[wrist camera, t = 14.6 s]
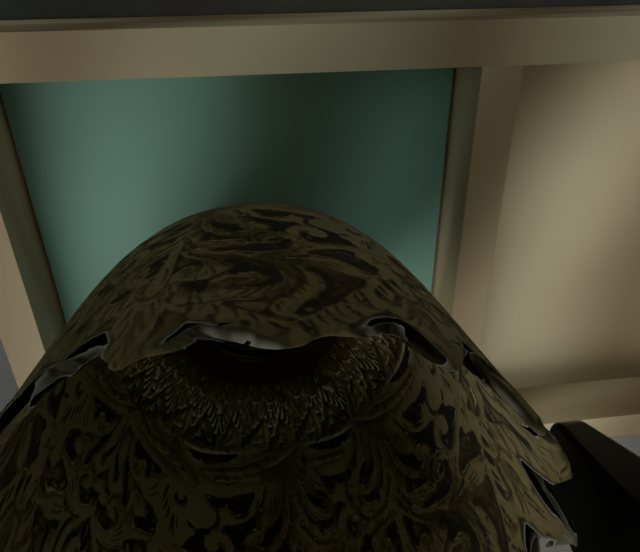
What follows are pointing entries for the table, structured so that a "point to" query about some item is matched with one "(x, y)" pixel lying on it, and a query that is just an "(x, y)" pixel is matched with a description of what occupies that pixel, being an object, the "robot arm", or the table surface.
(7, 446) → the cup
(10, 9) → the table surface
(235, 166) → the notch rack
